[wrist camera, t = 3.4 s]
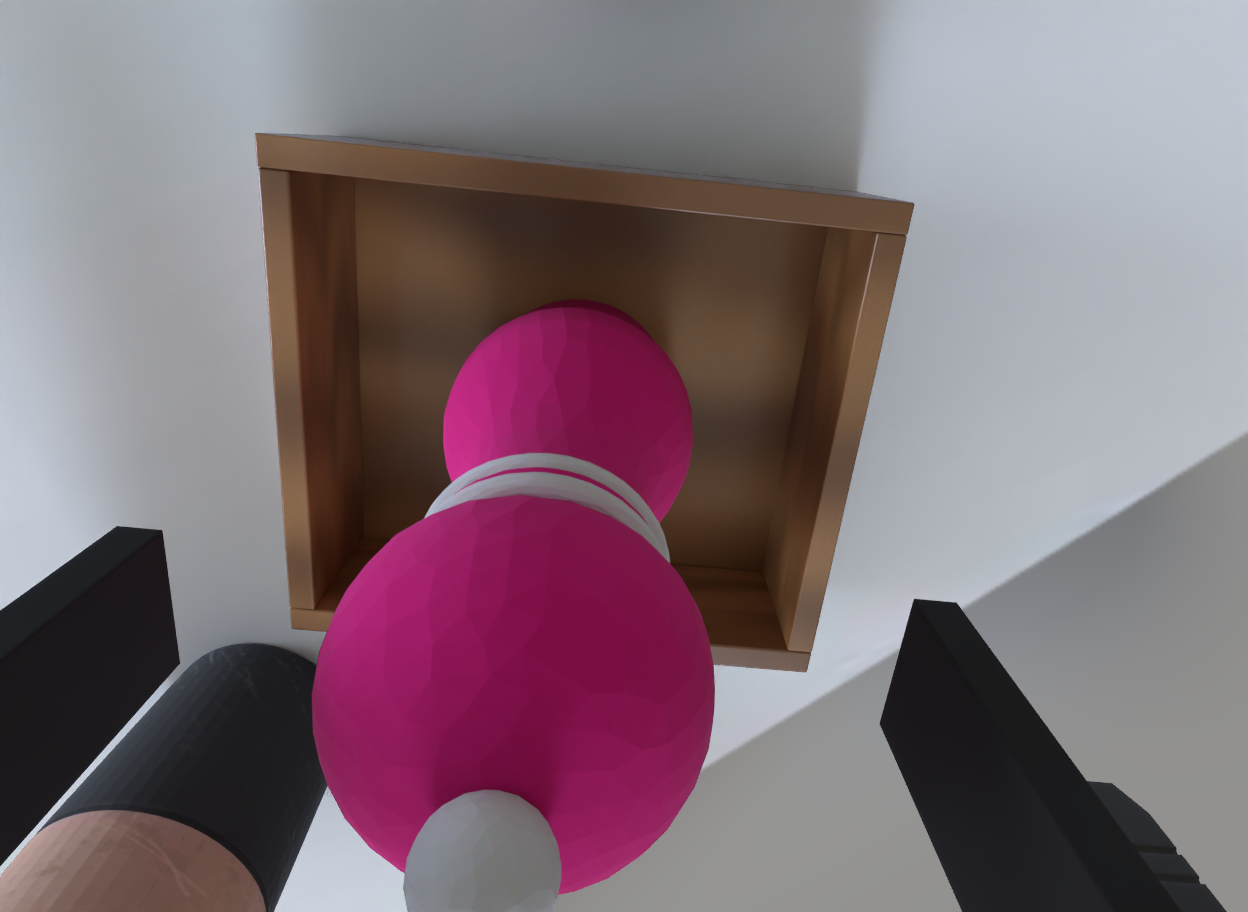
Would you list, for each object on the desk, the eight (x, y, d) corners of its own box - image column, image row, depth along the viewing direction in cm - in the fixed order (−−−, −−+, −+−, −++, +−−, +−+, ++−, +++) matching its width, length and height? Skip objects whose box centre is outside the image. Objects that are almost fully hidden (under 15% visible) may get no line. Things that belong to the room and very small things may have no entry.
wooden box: (330, 135, 24) (253, 132, 19) (857, 191, 24) (915, 203, 20) (346, 548, 29) (290, 629, 24) (777, 587, 30) (807, 673, 25)
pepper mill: (466, 282, 25) (23, 658, 7) (686, 283, 25) (857, 662, 7) (480, 484, 28) (192, 1151, 9) (679, 484, 28) (787, 1154, 9)
